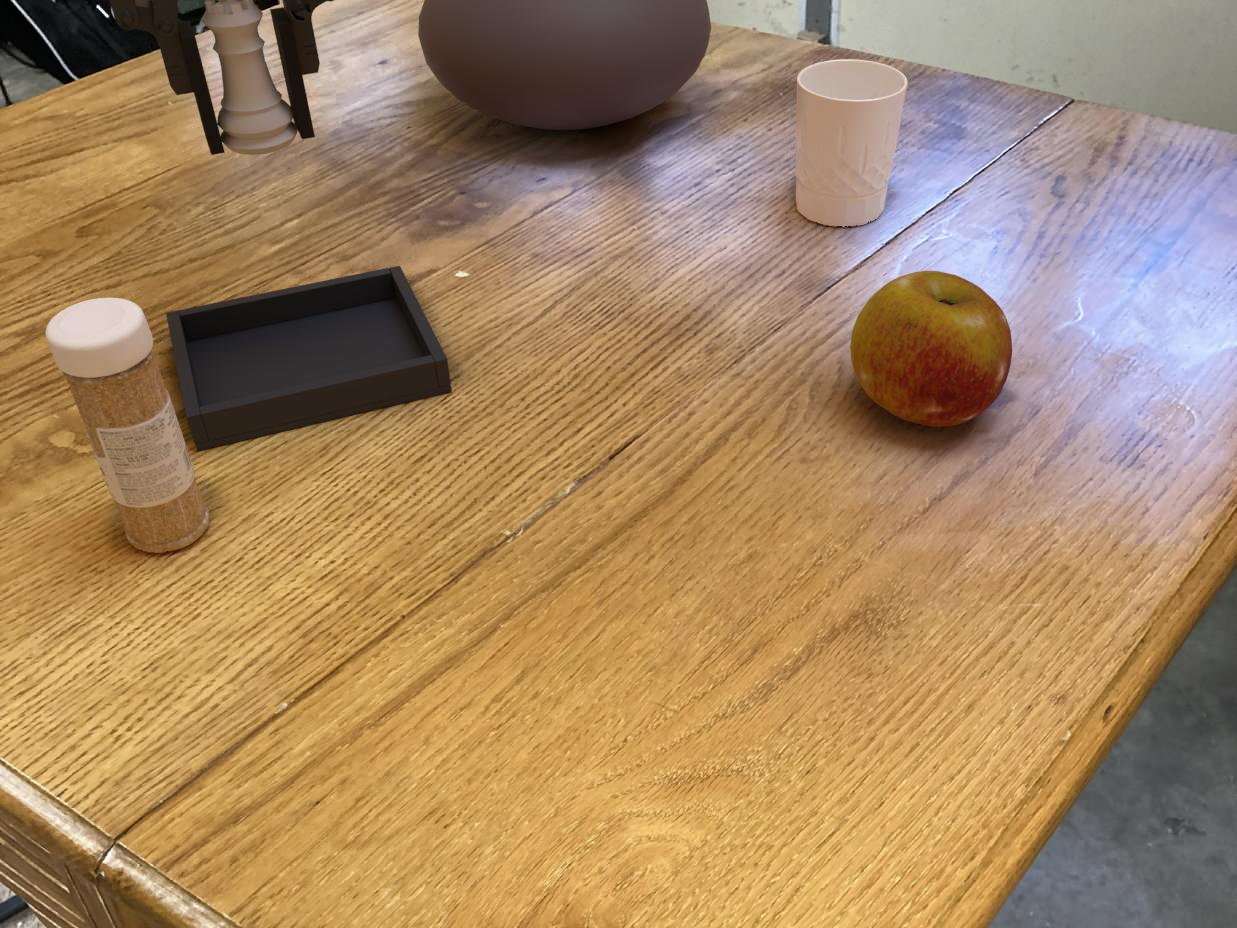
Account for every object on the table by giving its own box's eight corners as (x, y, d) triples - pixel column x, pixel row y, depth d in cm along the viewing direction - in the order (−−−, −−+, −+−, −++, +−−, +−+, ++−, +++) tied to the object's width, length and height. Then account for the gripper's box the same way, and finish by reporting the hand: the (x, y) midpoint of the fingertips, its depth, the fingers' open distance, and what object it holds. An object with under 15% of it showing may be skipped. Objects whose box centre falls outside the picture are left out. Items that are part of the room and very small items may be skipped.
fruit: (1033, 419, 73) (1061, 303, 67) (918, 471, 69) (938, 352, 64) (924, 346, 79) (943, 234, 74) (814, 390, 76) (825, 276, 70)
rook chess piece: (217, 133, 72) (181, -8, 67) (293, 120, 73) (264, -19, 68) (226, 163, 69) (189, 17, 63) (305, 149, 70) (275, 5, 65)
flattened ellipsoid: (518, 47, 121) (504, -118, 111) (751, 85, 113) (758, -90, 103) (374, 141, 105) (343, -42, 95) (634, 194, 96) (630, -1, 86)
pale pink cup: (780, 226, 92) (789, 96, 85) (795, 181, 97) (804, 55, 91) (886, 236, 90) (903, 104, 84) (895, 190, 96) (911, 63, 89)
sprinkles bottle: (133, 508, 68) (52, 298, 59) (216, 498, 69) (148, 289, 60) (121, 563, 65) (33, 349, 56) (209, 551, 65) (136, 338, 56)
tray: (197, 451, 72) (186, 417, 70) (175, 345, 81) (165, 312, 79) (452, 392, 76) (447, 358, 74) (405, 297, 85) (399, 265, 83)
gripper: (-66, -336, 50) (107, 191, 66) (352, -362, 55) (422, 135, 70) (-61, -353, 55) (98, 138, 71) (320, -376, 60) (392, 90, 76)
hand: (259, 136), depth 71 cm, fingers closed on rook chess piece, 4 cm apart
